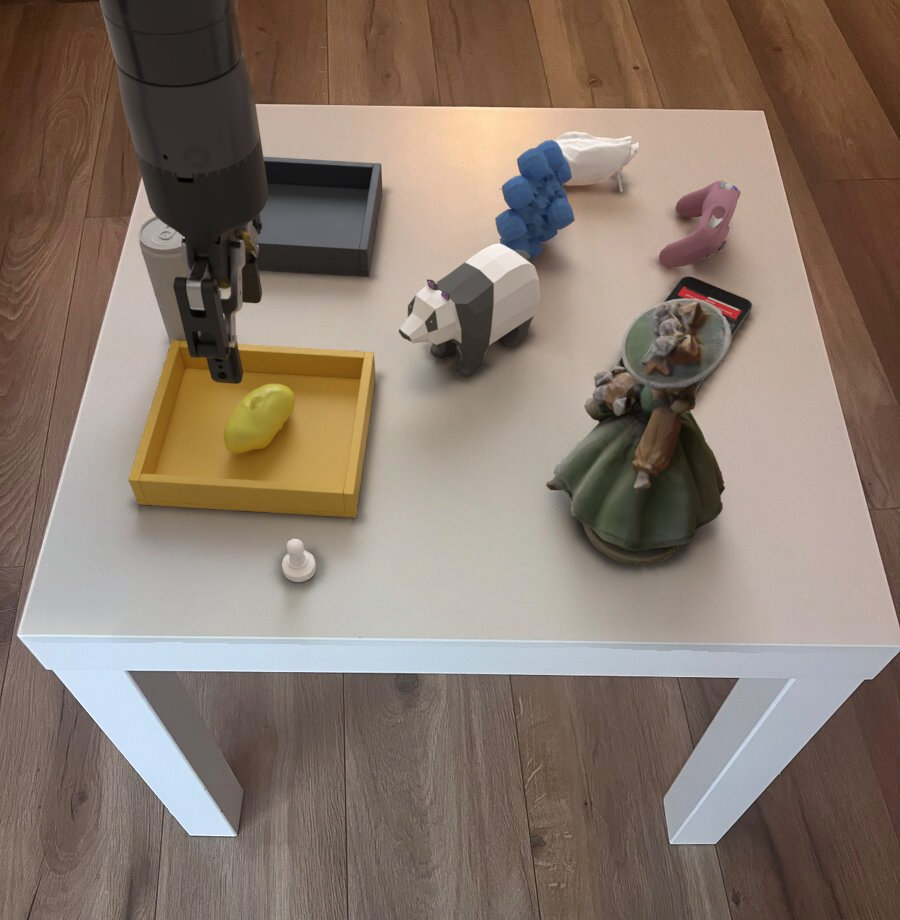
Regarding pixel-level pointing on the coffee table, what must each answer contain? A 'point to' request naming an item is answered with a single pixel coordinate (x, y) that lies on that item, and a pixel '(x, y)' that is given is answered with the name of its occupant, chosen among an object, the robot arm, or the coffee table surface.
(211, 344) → the robot arm
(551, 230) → the grapes
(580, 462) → the figurine
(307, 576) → the chess pawn
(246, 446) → the yellow oblong lump
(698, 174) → the coffee table surface
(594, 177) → the bird figurine
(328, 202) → the charcoal tray
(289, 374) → the yellow tray
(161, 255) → the beverage can
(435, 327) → the giant panda
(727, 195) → the video game controller
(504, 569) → the coffee table surface
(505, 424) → the coffee table surface
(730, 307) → the smartphone
